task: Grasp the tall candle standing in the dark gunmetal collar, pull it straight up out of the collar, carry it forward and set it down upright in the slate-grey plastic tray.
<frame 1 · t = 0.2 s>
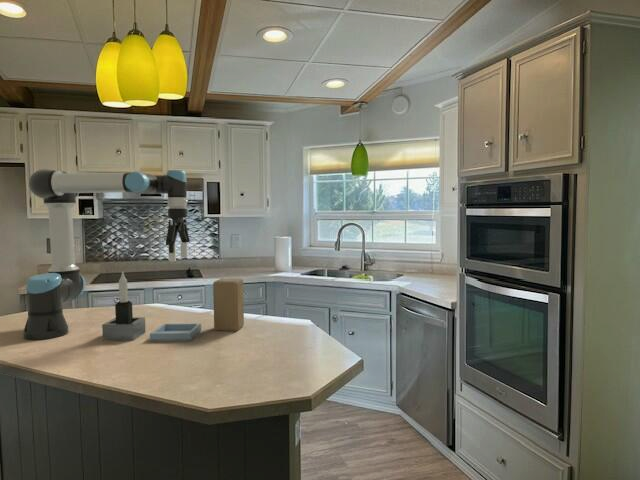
hand: (178, 259, 190), 28 cm above the countertop, fingers open, 13 cm apart
collar: (124, 336, 176), on the countertop
tray: (176, 335, 176), on the countertop
wooden block: (229, 328, 187), on the countertop
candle: (124, 336, 176), resting in collar
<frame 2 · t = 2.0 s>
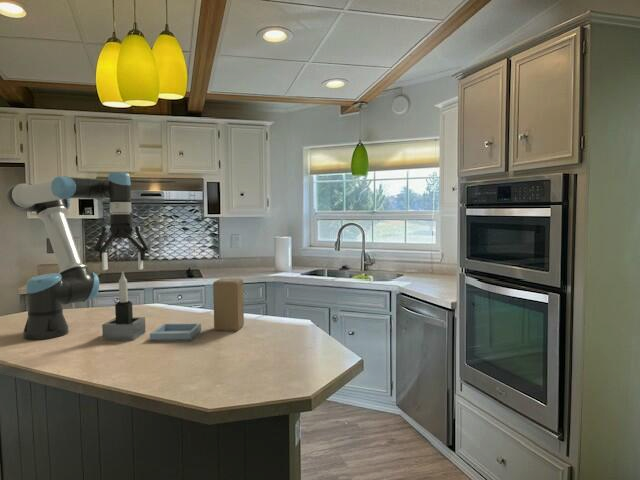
hand: (123, 269, 174), 26 cm above the countertop, fingers open, 13 cm apart
nothing on the countertop moved.
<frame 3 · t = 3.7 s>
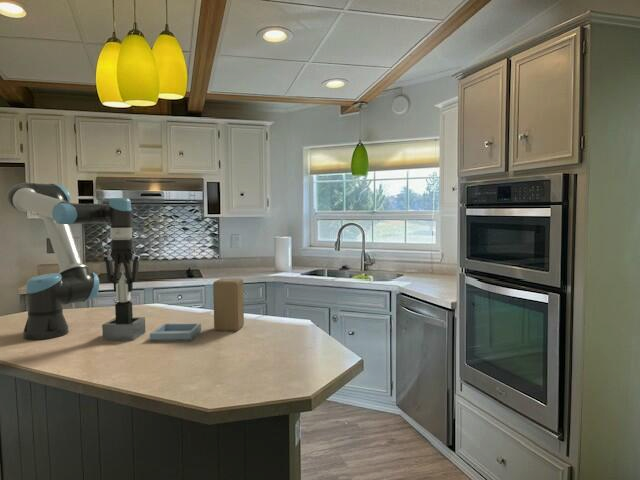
hand: (123, 300, 175), 14 cm above the countertop, fingers closed on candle, 3 cm apart
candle: (124, 336, 176), resting in collar, touching gripper
everything else where it was.
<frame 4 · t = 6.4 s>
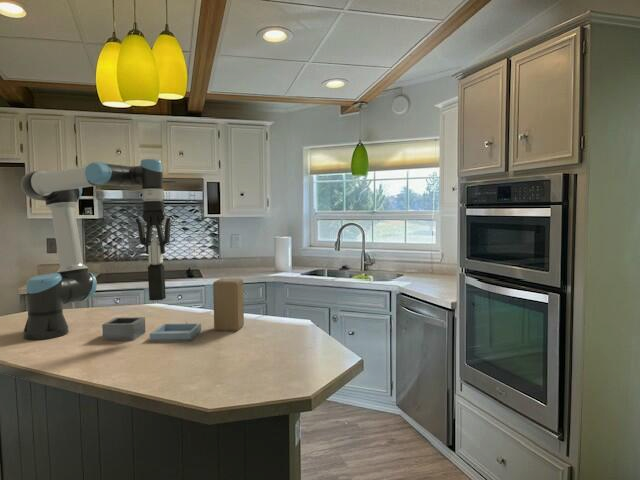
hand: (156, 262, 174), 28 cm above the countertop, fingers closed on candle, 3 cm apart
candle: (157, 299, 174), point 14 cm above the countertop, touching gripper
everything else where it was.
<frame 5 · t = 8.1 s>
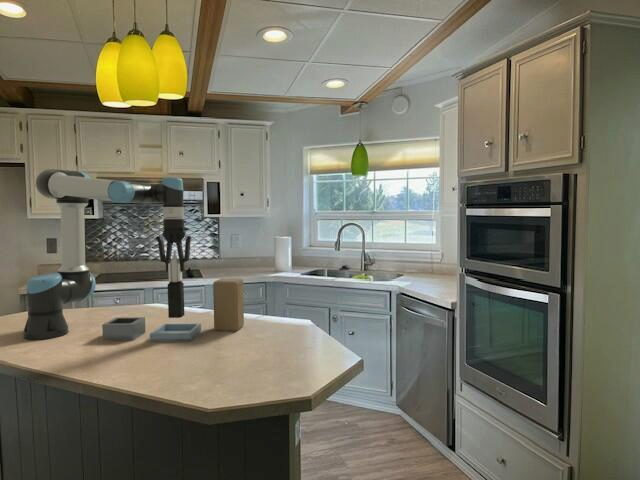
hand: (175, 280, 174), 22 cm above the countertop, fingers closed on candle, 3 cm apart
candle: (176, 316, 175), point 7 cm above the countertop, touching gripper
everything else where it was.
when the fingers open (16 cm above the countertop, at t = 9.3 s): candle stays where it is, resting on tray.
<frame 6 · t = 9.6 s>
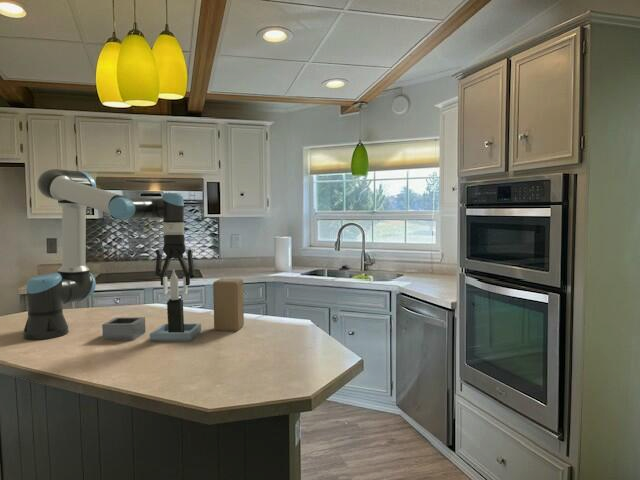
hand: (175, 293, 175), 16 cm above the countertop, fingers open, 7 cm apart
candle: (176, 334, 176), point 1 cm above the countertop, touching tray
everything else where it was.
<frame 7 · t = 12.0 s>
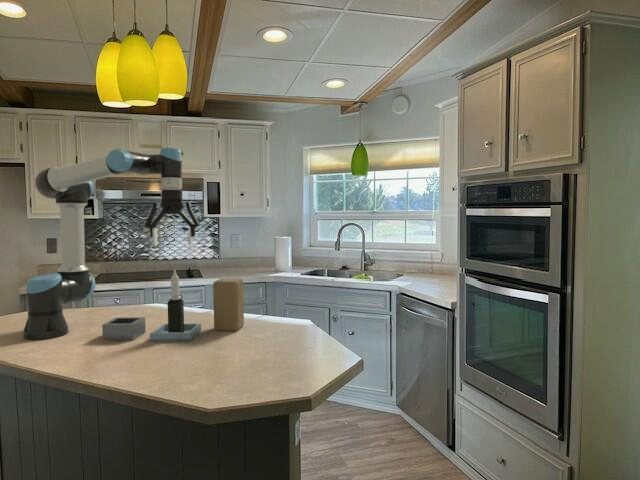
hand: (173, 245, 174), 35 cm above the countertop, fingers open, 13 cm apart
nothing on the countertop moved.
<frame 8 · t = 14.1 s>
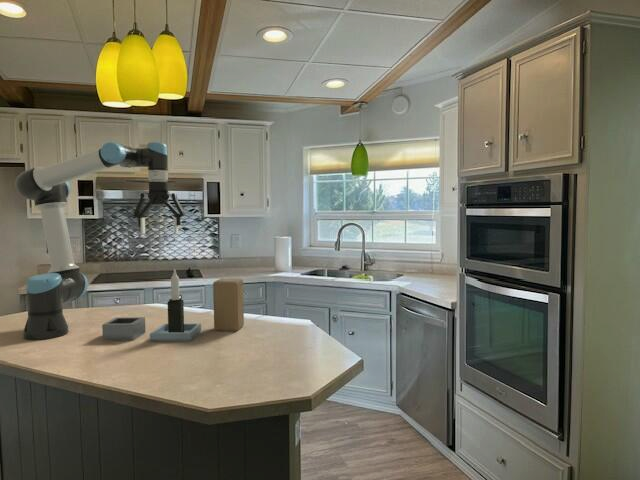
hand: (159, 233, 186), 39 cm above the countertop, fingers open, 13 cm apart
nothing on the countertop moved.
at the end: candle inside the target area on the tray (0.1 cm from its centre), point 0.6 cm above the tray's base; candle tilted 0°; the gripper is holding nothing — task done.
